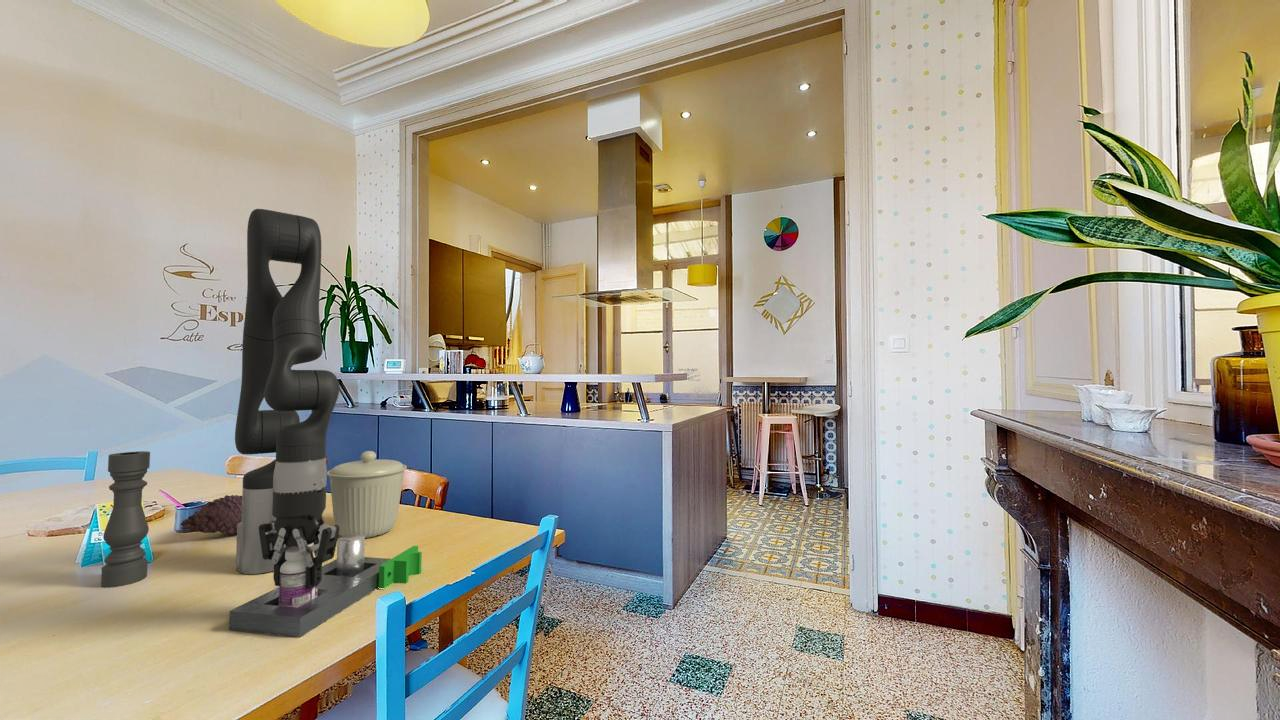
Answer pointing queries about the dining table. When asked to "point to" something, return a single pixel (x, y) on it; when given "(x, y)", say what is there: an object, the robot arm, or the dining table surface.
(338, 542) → the clear glass cylinder
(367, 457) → the canister
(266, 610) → the hole plate
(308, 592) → the pill bottle
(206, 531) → the pine cone
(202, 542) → the dining table surface
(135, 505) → the candle holder
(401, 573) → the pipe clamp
